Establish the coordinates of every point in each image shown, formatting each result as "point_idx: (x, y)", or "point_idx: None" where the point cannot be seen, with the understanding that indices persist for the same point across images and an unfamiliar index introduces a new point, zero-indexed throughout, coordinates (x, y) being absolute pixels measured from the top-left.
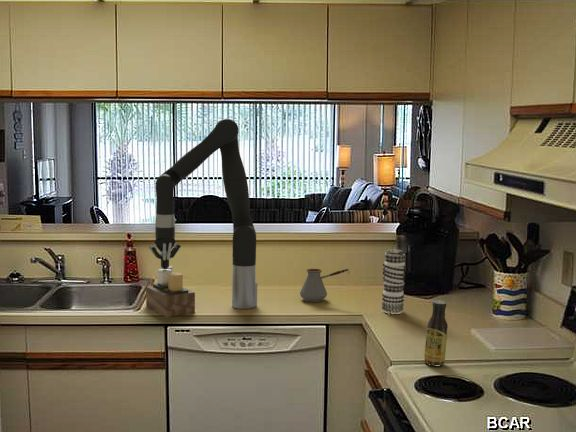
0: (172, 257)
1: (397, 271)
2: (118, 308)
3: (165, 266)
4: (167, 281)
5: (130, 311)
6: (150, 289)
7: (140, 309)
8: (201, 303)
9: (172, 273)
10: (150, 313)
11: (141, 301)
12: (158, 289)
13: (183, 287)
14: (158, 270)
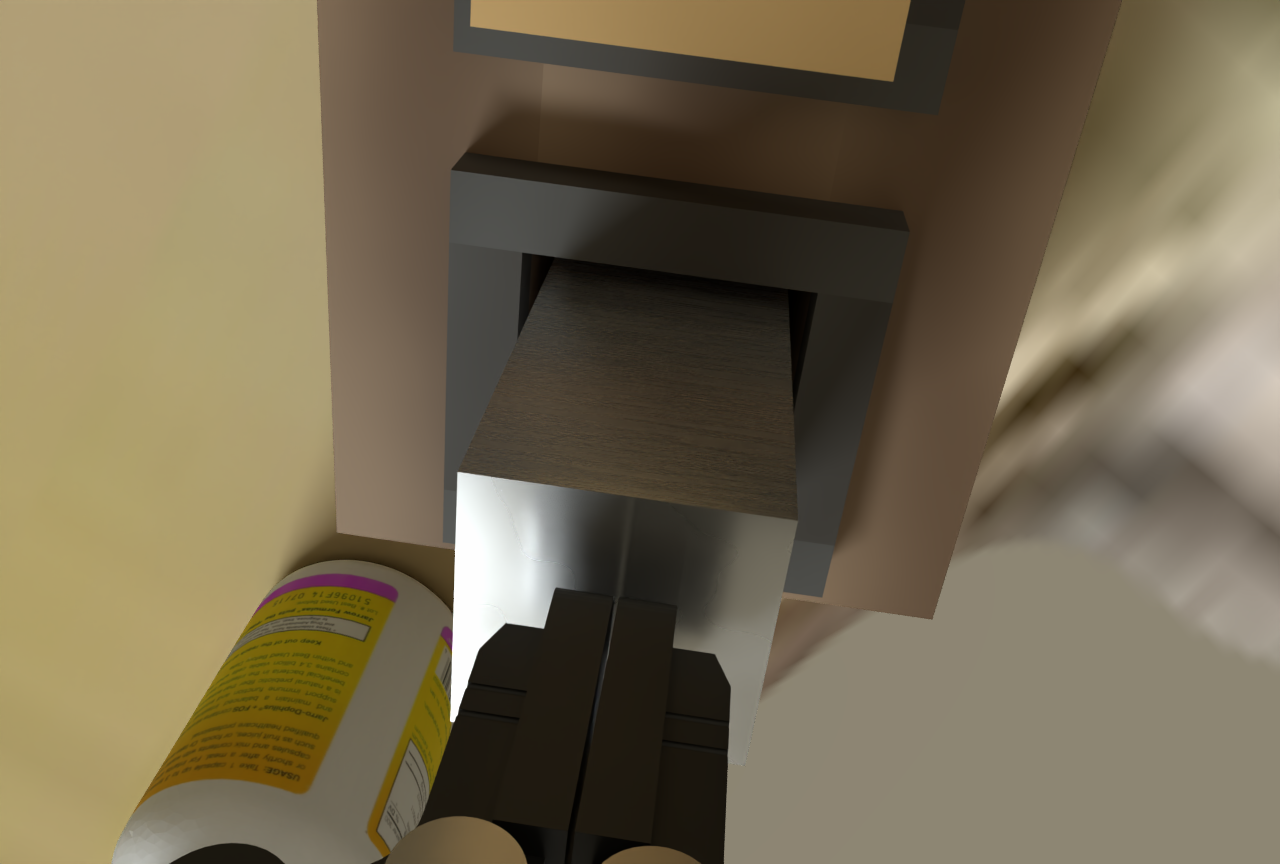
0: (238, 857)
1: None
2: (1250, 569)
3: (636, 650)
4: (654, 339)
5: (1258, 344)
6: (982, 439)
7: (1067, 343)
8: (67, 28)
9: (734, 22)
10: (1127, 35)
11: (777, 651)
12: (896, 299)
13: (321, 103)
14: (746, 733)
